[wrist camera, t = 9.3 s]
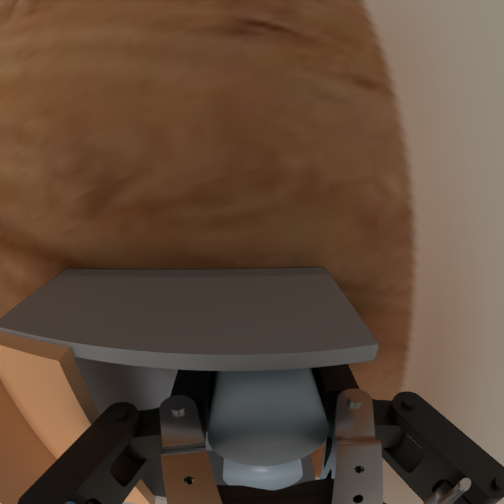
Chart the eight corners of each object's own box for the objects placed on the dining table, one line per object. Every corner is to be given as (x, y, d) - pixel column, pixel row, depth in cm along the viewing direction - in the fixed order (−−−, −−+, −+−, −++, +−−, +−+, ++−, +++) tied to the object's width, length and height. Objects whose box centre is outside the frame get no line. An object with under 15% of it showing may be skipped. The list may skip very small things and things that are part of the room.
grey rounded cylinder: (284, 383, 15) (296, 454, 10) (296, 422, 16) (307, 484, 11) (217, 397, 15) (210, 466, 10) (237, 433, 16) (237, 494, 11)
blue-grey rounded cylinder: (295, 306, 12) (322, 388, 7) (310, 372, 13) (332, 452, 8) (205, 328, 12) (187, 414, 7) (233, 389, 13) (230, 471, 8)
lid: (69, 346, 7) (-22, 479, 2) (155, 497, 11) (142, 571, 5) (-23, 324, 7) (-96, 395, 1) (73, 474, 11) (50, 536, 5)
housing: (324, 266, 14) (379, 344, 7) (302, 425, 17) (317, 500, 11) (67, 268, 13) (-8, 325, 7) (118, 417, 17) (92, 482, 11)
